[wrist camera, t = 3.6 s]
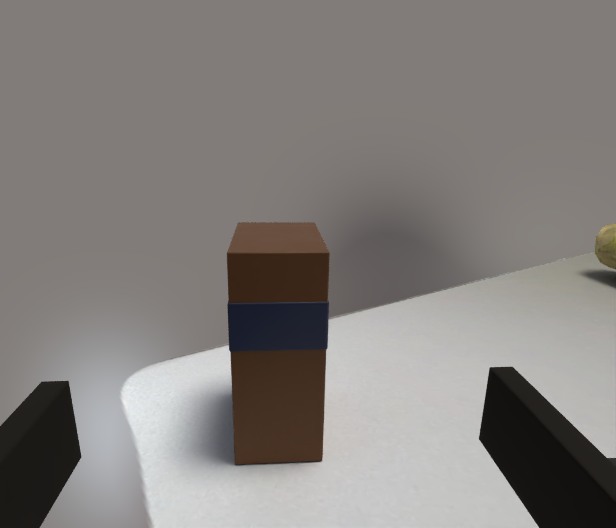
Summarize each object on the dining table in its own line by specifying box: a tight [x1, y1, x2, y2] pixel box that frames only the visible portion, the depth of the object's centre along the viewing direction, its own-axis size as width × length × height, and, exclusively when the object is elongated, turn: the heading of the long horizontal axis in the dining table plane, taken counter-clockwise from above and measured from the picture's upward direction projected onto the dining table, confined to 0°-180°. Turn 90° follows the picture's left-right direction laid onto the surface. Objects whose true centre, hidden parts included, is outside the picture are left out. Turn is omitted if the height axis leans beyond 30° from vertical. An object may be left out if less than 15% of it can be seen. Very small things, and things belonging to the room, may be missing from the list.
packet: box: [227, 223, 329, 465], centre depth 23 cm, size 6×4×11 cm
